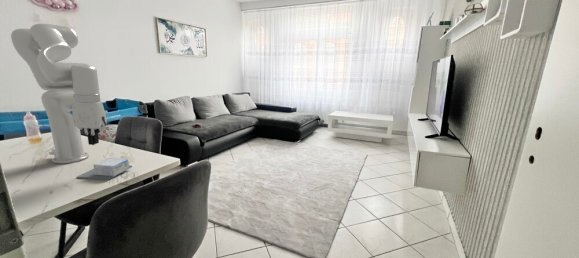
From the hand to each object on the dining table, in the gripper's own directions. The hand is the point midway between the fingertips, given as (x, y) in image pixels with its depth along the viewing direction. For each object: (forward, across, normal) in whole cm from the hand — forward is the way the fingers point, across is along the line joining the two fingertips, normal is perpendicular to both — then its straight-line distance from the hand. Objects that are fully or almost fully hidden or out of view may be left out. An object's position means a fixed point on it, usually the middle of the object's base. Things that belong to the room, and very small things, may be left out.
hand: (93, 143), depth 98 cm
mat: (+12, +4, -1) cm, 12 cm away
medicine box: (+9, +3, -1) cm, 9 cm away
